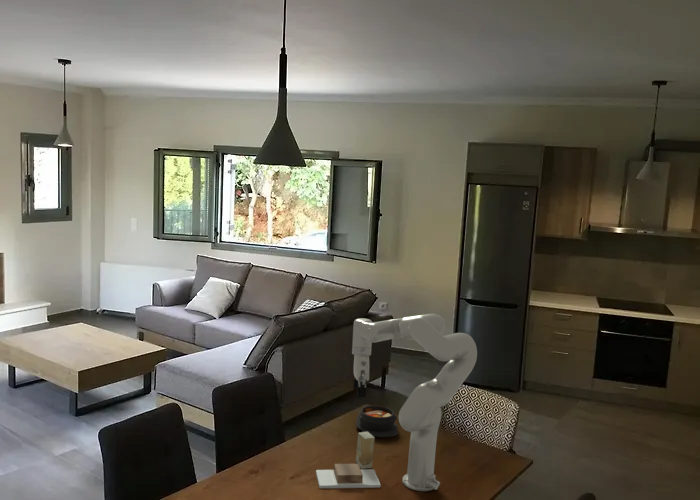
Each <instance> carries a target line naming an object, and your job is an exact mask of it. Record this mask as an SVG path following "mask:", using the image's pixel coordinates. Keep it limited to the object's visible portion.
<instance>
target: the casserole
mask: <svg viewBox="0 0 700 500" xmlns="http://www.w3.org/2000/svg"><path fill="white" fill-rule="evenodd" d="M397 417H398V416H397V415H396V414H395V411H394V410H393V409H391V408H389V407H386V406H382V405H368V406H367V405H366V406H365V407H362V408H361V409H360V411H359V412H358V415H357V416H356V417H355V419H356V420H355V421H356V422H355V426H356V428H358V429H359V430H361V432H369V433H370V434H371V435H372V436H373V437H377V438H391V437H394V436H395V437H396V436H397V435H399V431H398V429H399V428H398V425H397V424H396V423H395V421H397Z"/></svg>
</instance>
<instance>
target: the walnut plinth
mask: <svg viewBox="0 0 700 500" xmlns="http://www.w3.org/2000/svg"><path fill="white" fill-rule="evenodd" d="M333 470H334V474H335V477H336V480H337V483H362V479H363V474H362V472H361V470H362V468H361V467H360V466H359V464H357V463H333Z"/></svg>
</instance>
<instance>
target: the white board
mask: <svg viewBox="0 0 700 500" xmlns="http://www.w3.org/2000/svg"><path fill="white" fill-rule="evenodd" d="M361 472H362V474H363V479H362V483H337V480H336V477H335V474H334V469H316V470H315V475H316V480H317V483H318V487H319V489H359V488H361V489H362V488H363V489H364V488H367V489H368V488H370V489H371V488H373V489H374V488H375V489H376V488H381V486H382V485H381V482H380V479H379V477H378V475H377V473H376V470H375V469H374V468H373V469H372V468H366V469H361Z"/></svg>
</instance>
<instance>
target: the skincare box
mask: <svg viewBox="0 0 700 500" xmlns="http://www.w3.org/2000/svg"><path fill="white" fill-rule="evenodd" d="M374 449H375V436H374V435H372V434H370V433H369V432H365V431H361V432H358V434H357V444H356V456H355V464H359V467H360V469H361V470H363V469H372V468H373V460H374Z"/></svg>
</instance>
